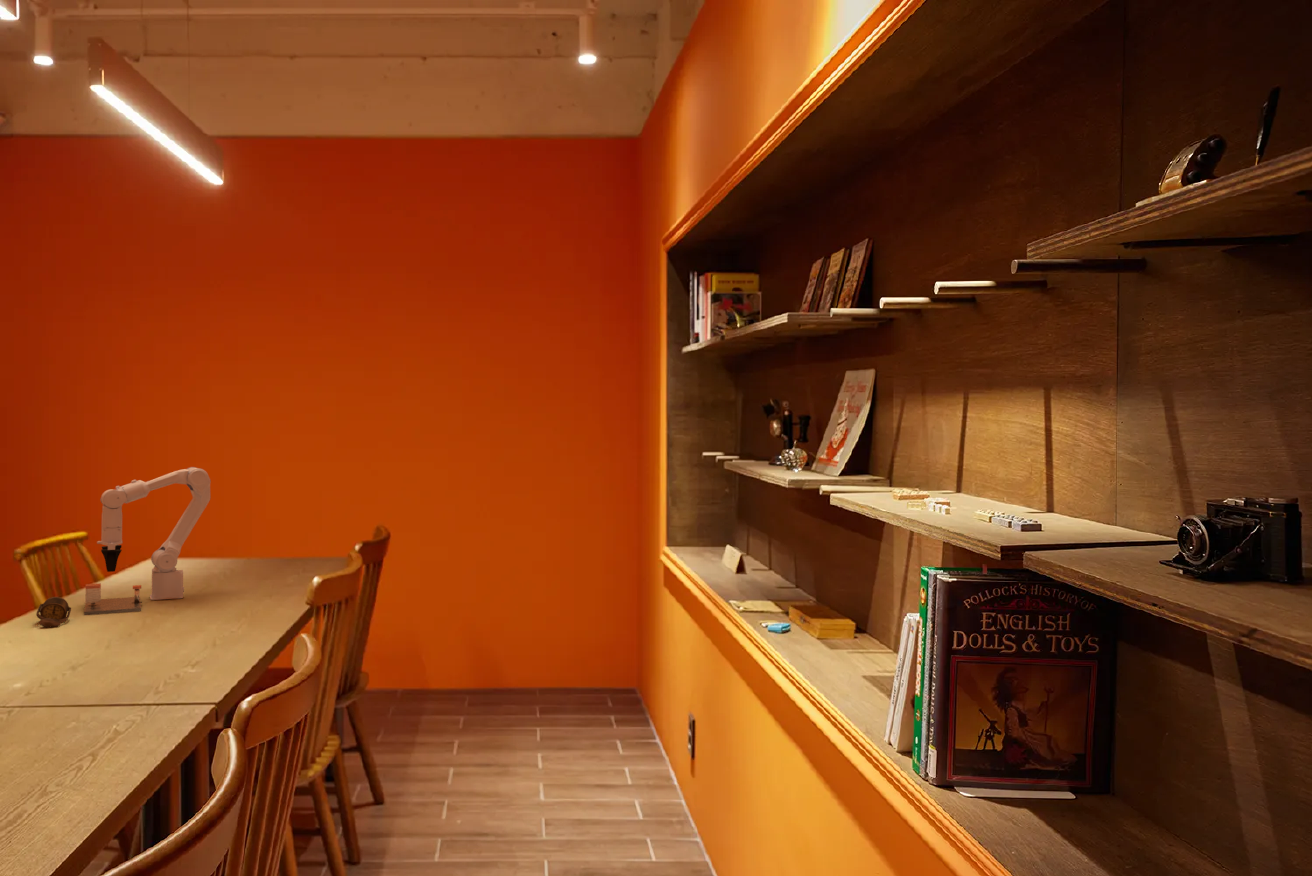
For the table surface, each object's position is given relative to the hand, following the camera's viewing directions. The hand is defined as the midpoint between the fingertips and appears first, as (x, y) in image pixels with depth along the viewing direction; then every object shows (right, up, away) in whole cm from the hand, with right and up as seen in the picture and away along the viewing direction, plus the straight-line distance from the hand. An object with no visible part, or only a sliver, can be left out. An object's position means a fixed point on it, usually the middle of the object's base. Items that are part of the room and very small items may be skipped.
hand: (111, 569), depth 308 cm
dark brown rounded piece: (0, -12, -31) cm, 33 cm away
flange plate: (+5, -11, -7) cm, 14 cm away
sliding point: (0, -9, -10) cm, 14 cm away
